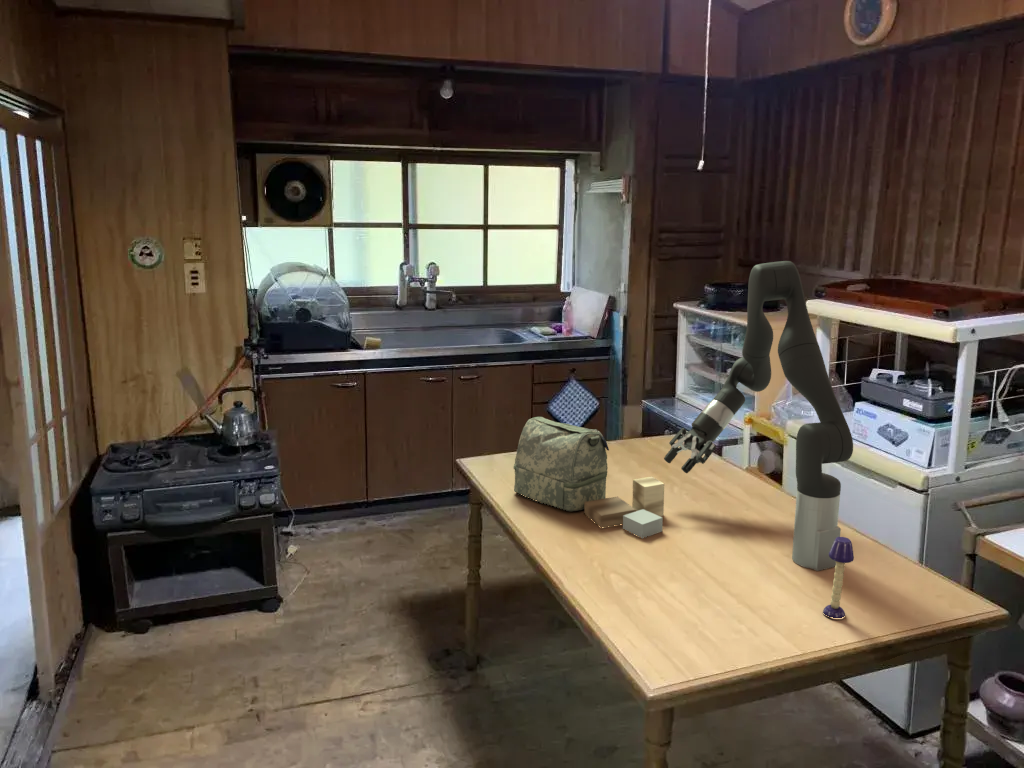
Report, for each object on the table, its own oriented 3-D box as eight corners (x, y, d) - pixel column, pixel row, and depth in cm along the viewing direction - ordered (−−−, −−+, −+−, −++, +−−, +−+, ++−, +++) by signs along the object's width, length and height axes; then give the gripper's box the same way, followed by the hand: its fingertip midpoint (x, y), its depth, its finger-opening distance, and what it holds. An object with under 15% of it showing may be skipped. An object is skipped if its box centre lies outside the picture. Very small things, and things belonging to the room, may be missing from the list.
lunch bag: (618, 501, 223) (619, 426, 218) (572, 519, 211) (572, 440, 206) (552, 477, 242) (552, 408, 237) (507, 493, 231) (506, 420, 225)
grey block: (662, 532, 203) (662, 517, 202) (642, 539, 199) (642, 524, 198) (642, 523, 209) (642, 509, 208) (622, 530, 205) (623, 515, 204)
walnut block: (635, 523, 209) (635, 509, 208) (601, 530, 205) (601, 515, 204) (617, 510, 218) (617, 496, 217) (584, 515, 214) (584, 501, 213)
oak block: (663, 515, 213) (664, 483, 211) (643, 519, 211) (644, 487, 209) (651, 507, 218) (652, 476, 216) (632, 511, 216) (632, 479, 214)
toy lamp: (842, 609, 164) (849, 533, 160) (852, 621, 160) (859, 543, 156) (819, 610, 164) (825, 534, 160) (828, 621, 159) (835, 544, 155)
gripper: (689, 405, 221) (652, 450, 219) (720, 418, 208) (681, 466, 207) (705, 421, 224) (668, 466, 223) (736, 435, 211) (698, 482, 210)
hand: (674, 466), depth 215 cm, fingers open, 8 cm apart
